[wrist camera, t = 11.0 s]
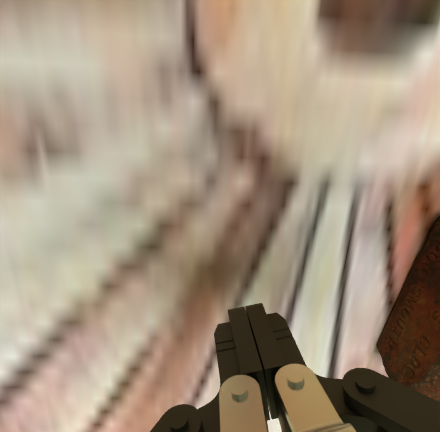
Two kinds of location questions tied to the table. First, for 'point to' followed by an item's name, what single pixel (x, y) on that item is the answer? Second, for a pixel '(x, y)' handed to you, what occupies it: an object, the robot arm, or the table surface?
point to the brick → (416, 325)
